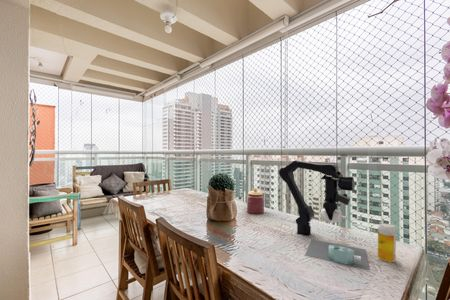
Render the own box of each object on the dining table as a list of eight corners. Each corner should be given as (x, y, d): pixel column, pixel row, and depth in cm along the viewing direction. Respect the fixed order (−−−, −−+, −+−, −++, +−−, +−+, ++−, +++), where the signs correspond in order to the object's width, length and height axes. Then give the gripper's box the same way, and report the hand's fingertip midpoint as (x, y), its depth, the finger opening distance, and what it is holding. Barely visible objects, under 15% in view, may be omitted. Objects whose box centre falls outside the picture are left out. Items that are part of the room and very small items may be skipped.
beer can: (378, 255, 98) (378, 221, 98) (395, 259, 94) (395, 224, 94) (377, 260, 93) (377, 225, 93) (395, 265, 89) (395, 228, 89)
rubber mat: (304, 256, 97) (304, 255, 97) (311, 240, 114) (311, 239, 114) (369, 271, 85) (369, 270, 85) (366, 250, 102) (366, 249, 102)
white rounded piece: (320, 220, 113) (320, 210, 113) (321, 218, 117) (321, 208, 117) (346, 224, 108) (346, 214, 108) (346, 221, 112) (346, 211, 111)
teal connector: (328, 259, 93) (328, 248, 93) (328, 255, 97) (329, 244, 97) (361, 267, 87) (361, 254, 87) (360, 262, 91) (360, 250, 91)
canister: (243, 210, 168) (243, 187, 168) (257, 208, 174) (257, 186, 174) (252, 215, 156) (252, 190, 156) (267, 213, 162) (267, 189, 162)
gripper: (349, 193, 101) (349, 227, 101) (348, 187, 117) (348, 216, 117) (322, 191, 106) (322, 223, 106) (326, 185, 123) (325, 213, 123)
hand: (331, 218), depth 113 cm, fingers closed on white rounded piece, 4 cm apart
